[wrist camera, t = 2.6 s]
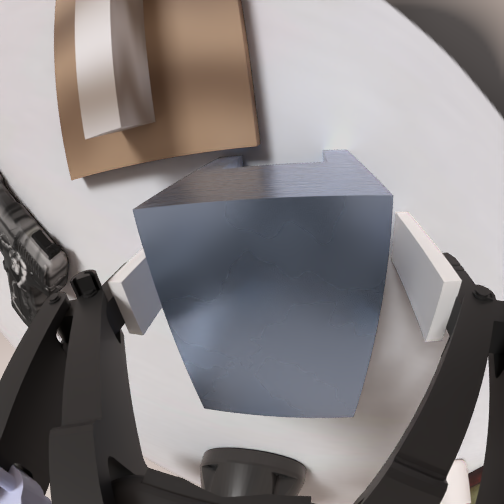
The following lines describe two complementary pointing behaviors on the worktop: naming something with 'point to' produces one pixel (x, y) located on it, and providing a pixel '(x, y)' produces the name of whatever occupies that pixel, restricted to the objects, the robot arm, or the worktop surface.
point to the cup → (457, 484)
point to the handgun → (28, 258)
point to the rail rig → (151, 81)
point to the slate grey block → (272, 280)
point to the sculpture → (475, 483)
